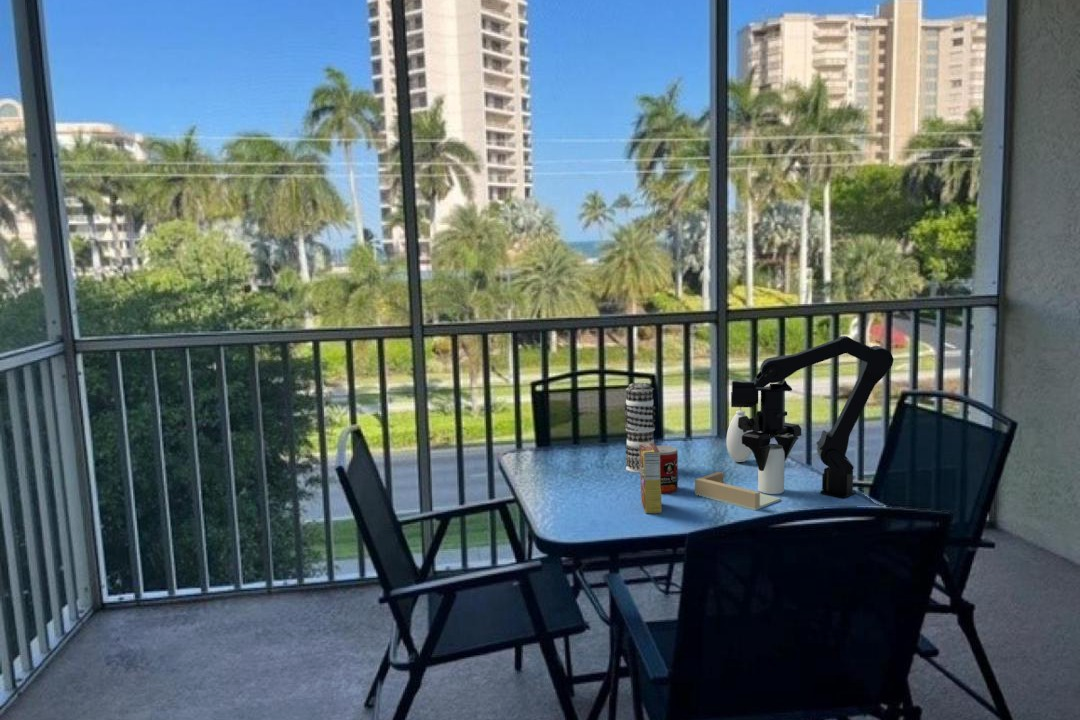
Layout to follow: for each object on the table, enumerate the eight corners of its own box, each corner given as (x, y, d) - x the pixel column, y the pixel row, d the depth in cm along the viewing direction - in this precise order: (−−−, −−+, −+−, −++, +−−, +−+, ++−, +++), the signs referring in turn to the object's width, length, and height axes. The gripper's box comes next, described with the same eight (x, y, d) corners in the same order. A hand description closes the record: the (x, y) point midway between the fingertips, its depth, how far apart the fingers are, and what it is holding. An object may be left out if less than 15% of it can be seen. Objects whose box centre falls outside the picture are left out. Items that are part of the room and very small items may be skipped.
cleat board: (780, 500, 196) (780, 484, 195) (754, 510, 189) (755, 493, 188) (721, 486, 210) (721, 471, 209) (695, 494, 202) (695, 479, 202)
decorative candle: (621, 472, 226) (620, 386, 223) (628, 463, 234) (627, 381, 231) (653, 474, 223) (652, 387, 220) (658, 465, 231) (658, 381, 228)
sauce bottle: (754, 465, 229) (755, 404, 227) (727, 465, 230) (727, 404, 228) (752, 458, 236) (752, 399, 234) (725, 458, 238) (725, 399, 235)
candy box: (639, 502, 197) (639, 443, 195) (656, 502, 197) (656, 442, 195) (643, 514, 189) (643, 451, 187) (661, 513, 188) (661, 451, 187)
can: (755, 493, 202) (756, 447, 201) (761, 486, 208) (761, 442, 206) (781, 496, 199) (782, 450, 198) (786, 489, 205) (786, 444, 203)
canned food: (655, 495, 203) (655, 453, 202) (643, 486, 211) (643, 446, 209) (683, 492, 205) (682, 450, 204) (670, 483, 213) (669, 444, 211)
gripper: (765, 399, 213) (765, 455, 215) (723, 409, 201) (723, 468, 203) (802, 403, 205) (802, 462, 207) (761, 414, 193) (761, 476, 195)
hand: (771, 467), depth 203 cm, fingers open, 9 cm apart
